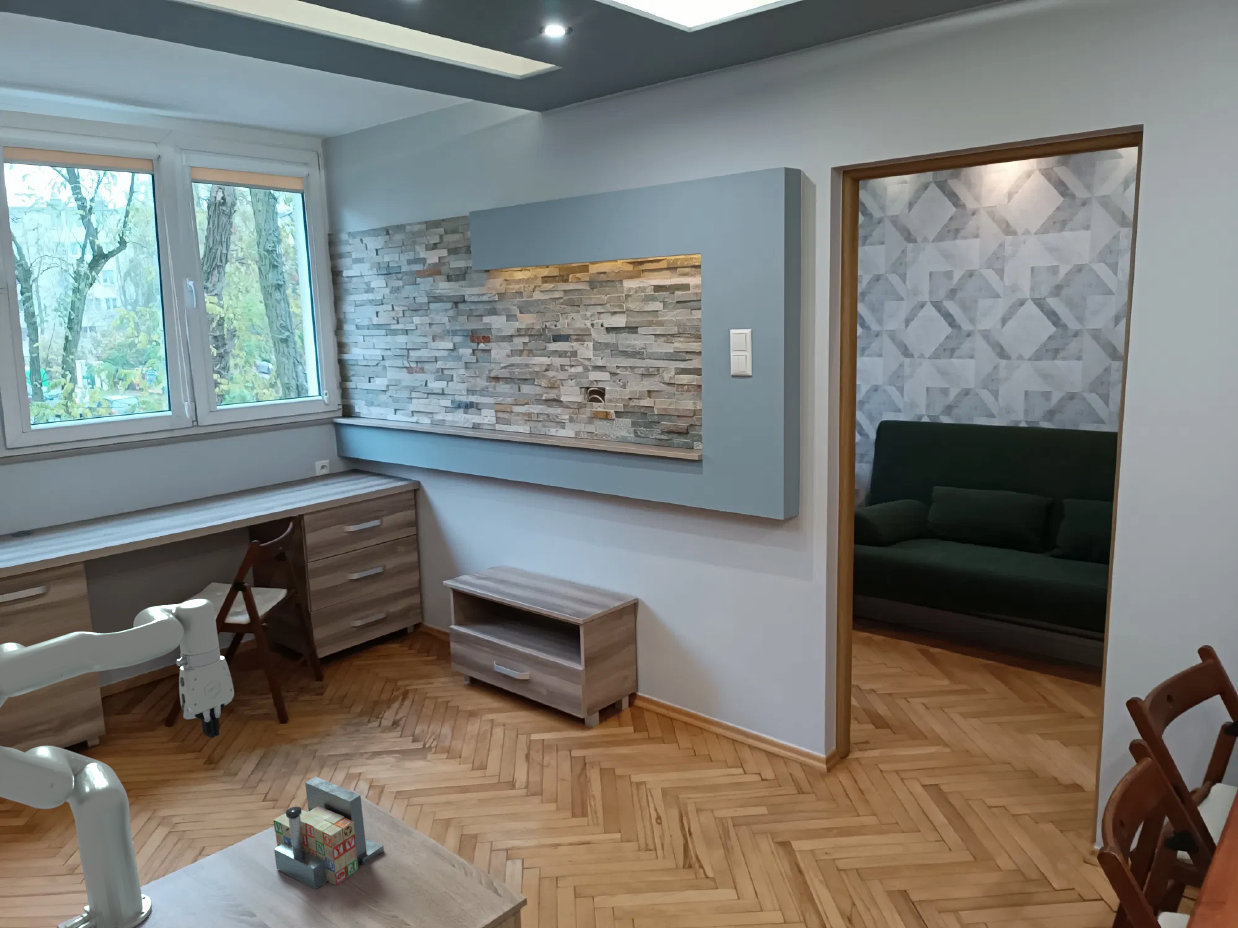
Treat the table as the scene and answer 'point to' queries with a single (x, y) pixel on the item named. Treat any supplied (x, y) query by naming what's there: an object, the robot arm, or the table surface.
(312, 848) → the stack of blocks
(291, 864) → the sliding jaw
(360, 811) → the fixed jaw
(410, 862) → the table surface
